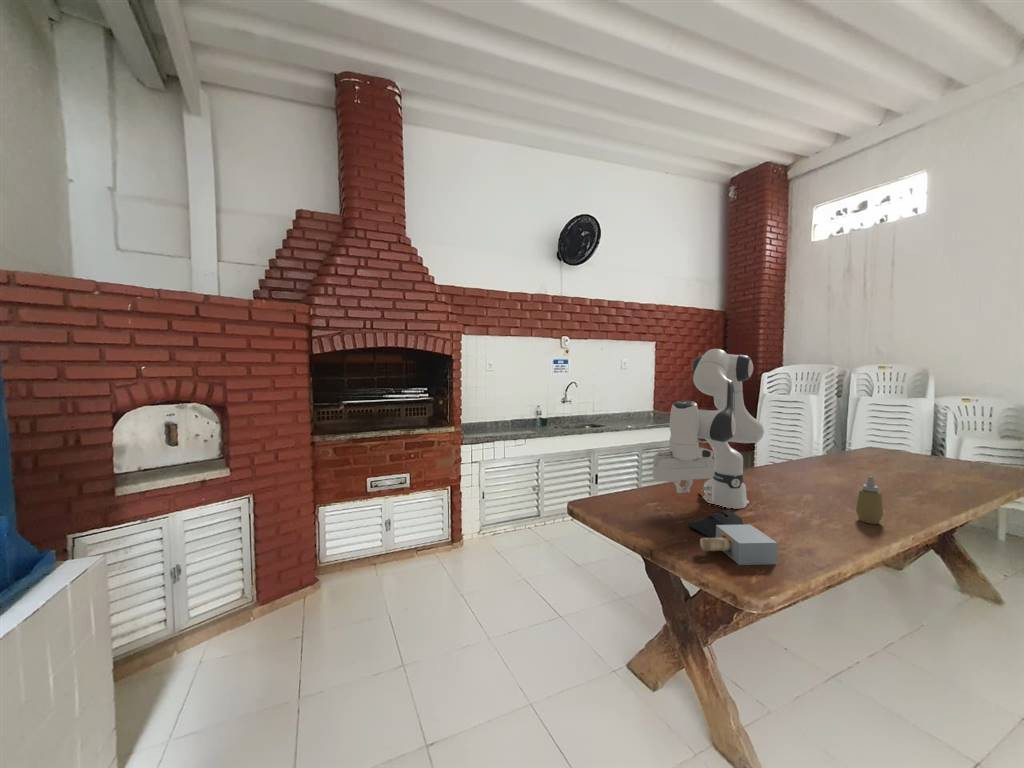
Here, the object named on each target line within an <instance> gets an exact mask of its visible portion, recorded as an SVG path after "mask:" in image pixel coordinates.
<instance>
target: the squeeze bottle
mask: <svg viewBox="0 0 1024 768" xmlns="http://www.w3.org/2000/svg"><path fill="white" fill-rule="evenodd" d="M855 511H856V513H857V516H858V517H857V518H858V520H859V521H861V522H862V523H866V524H871V525H878V524H879V523H880V522H881V520H882V518H883V516H884V510H883V499H882V493H881V492H880V491H879V486H878V485H875V480H874V477H873V476H871V475H869V476H868V478H867V481H866V483H864V484H862V489H860V490H858V496H857V501H856V507H855Z"/></svg>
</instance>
